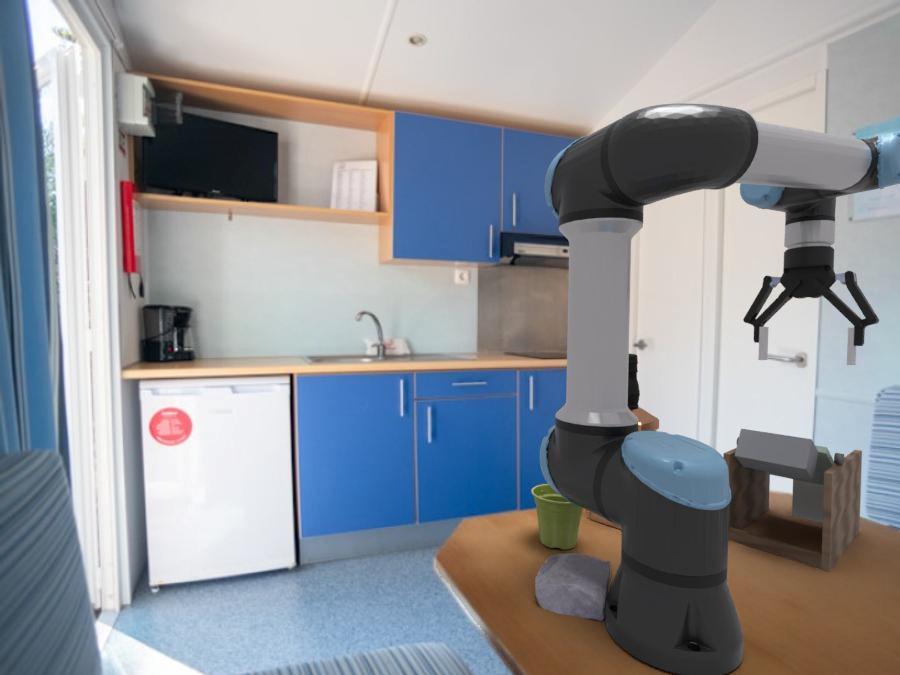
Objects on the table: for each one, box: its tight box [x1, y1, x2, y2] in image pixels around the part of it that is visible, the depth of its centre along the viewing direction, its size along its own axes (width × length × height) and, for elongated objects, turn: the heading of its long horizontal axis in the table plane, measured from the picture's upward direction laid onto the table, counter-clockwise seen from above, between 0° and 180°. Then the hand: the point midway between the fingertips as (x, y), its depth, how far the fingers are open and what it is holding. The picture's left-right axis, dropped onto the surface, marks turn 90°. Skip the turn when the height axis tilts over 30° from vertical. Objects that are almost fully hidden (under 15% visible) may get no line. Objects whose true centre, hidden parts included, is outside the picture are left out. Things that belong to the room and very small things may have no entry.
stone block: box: [534, 552, 612, 622], centre depth 68 cm, size 12×5×10 cm
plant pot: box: [531, 483, 584, 551], centre depth 84 cm, size 9×9×9 cm
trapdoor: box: [735, 428, 835, 486], centre depth 86 cm, size 22×12×6 cm
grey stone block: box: [791, 479, 824, 525], centre depth 96 cm, size 6×6×8 cm
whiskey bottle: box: [588, 353, 660, 531], centre depth 94 cm, size 10×10×32 cm
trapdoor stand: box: [722, 436, 863, 572], centre depth 88 cm, size 22×15×17 cm
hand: (804, 362), depth 91 cm, fingers open, 13 cm apart
